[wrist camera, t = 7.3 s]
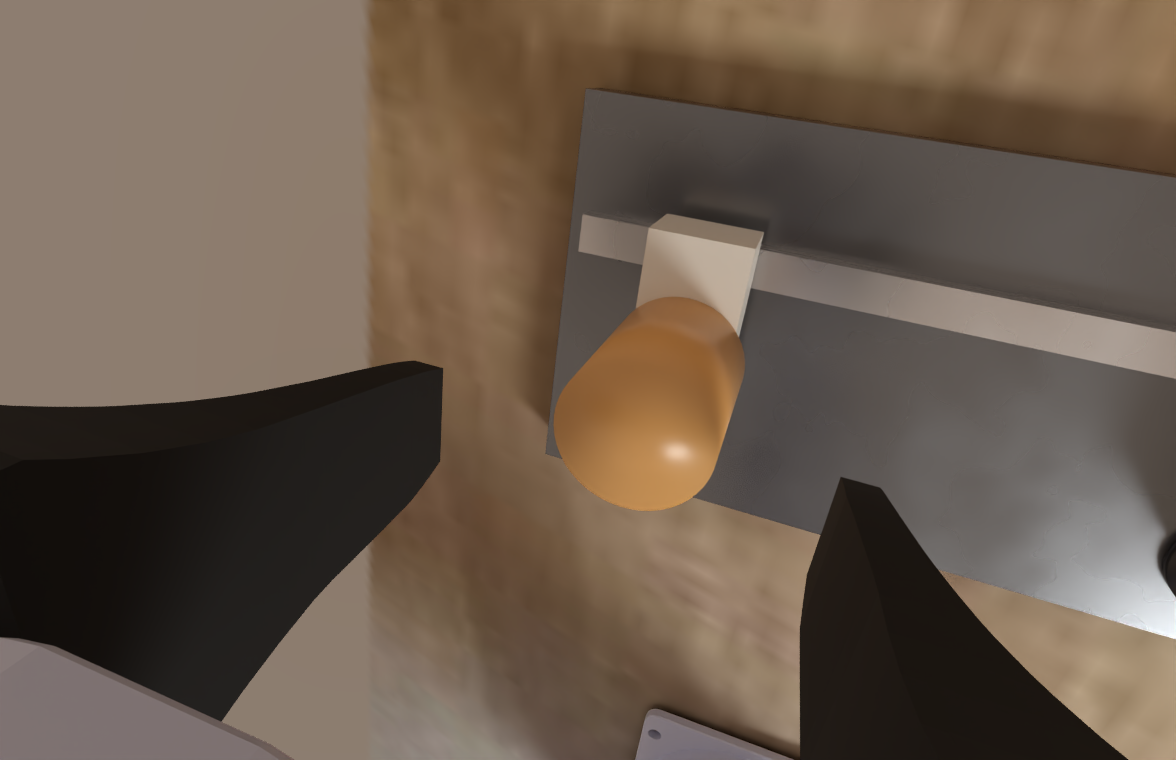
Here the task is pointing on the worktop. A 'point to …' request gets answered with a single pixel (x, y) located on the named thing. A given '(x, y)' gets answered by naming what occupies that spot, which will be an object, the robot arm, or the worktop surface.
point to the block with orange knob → (664, 371)
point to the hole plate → (917, 336)
